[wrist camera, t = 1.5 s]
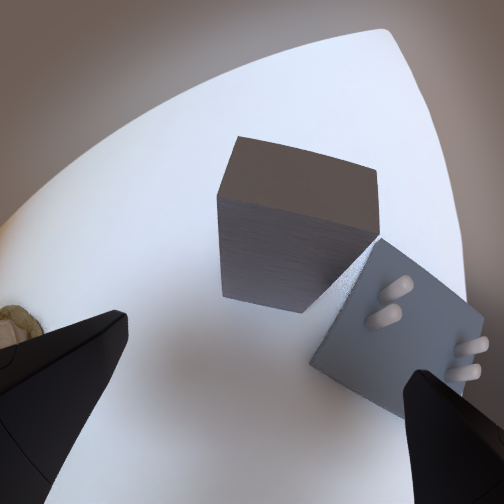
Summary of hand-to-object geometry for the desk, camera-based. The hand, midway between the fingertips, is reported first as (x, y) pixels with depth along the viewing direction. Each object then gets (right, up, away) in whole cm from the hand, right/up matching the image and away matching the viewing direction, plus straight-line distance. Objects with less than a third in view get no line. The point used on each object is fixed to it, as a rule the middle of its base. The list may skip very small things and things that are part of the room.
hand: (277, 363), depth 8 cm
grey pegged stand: (+13, -4, +13) cm, 18 cm away
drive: (0, +1, +14) cm, 14 cm away
